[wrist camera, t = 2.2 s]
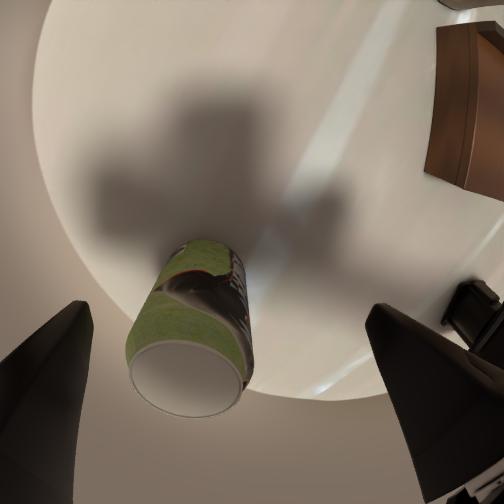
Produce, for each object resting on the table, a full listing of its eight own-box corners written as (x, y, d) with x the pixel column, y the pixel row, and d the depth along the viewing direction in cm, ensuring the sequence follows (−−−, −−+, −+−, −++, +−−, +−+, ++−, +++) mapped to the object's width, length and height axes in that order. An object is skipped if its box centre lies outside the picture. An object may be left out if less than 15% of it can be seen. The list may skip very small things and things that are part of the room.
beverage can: (202, 313, 23) (206, 444, 13) (137, 256, 20) (90, 388, 10) (261, 271, 22) (302, 403, 12) (197, 202, 19) (183, 323, 8)
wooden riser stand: (490, 191, 22) (535, 216, 16) (423, 171, 20) (482, 199, 14) (504, 77, 15) (551, 85, 9) (436, 27, 13) (494, 20, 7)
